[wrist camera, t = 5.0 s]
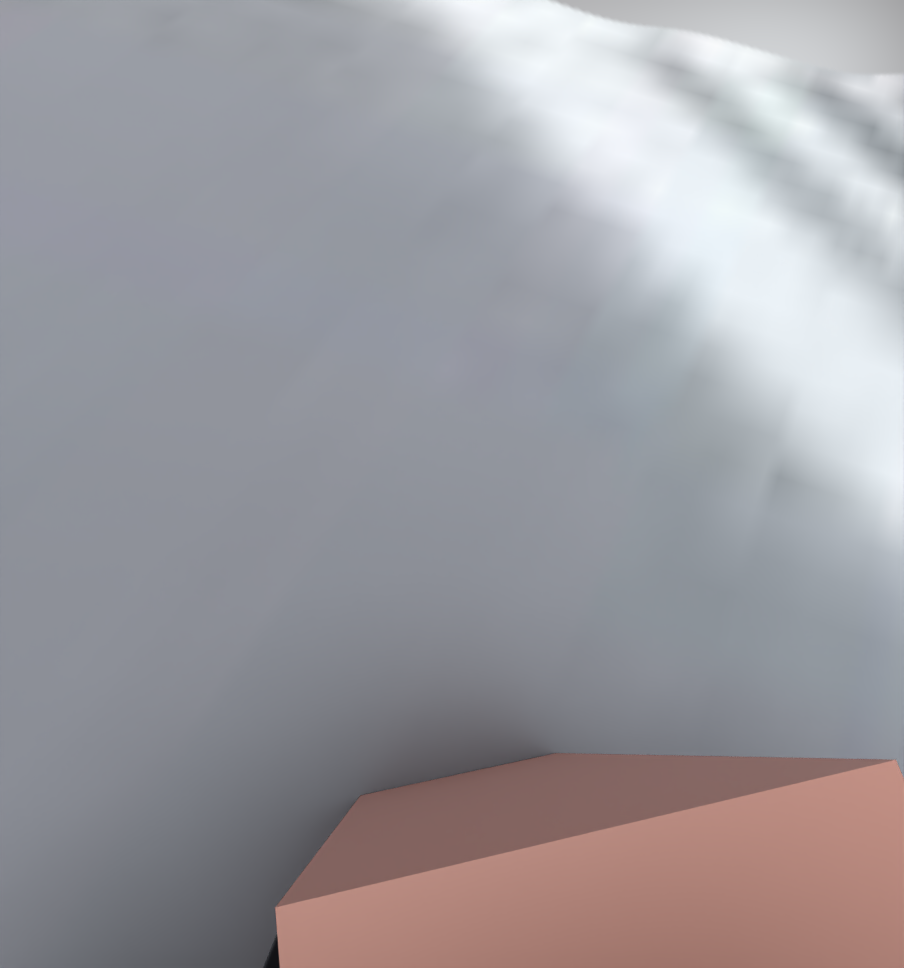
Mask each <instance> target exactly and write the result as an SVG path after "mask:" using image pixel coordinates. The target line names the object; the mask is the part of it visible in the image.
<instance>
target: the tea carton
mask: <svg viewBox="0 0 904 968" xmlns="http://www.w3.org/2000/svg"><path fill="white" fill-rule="evenodd" d="M275 910H276V924H277V937H278V950H279V963H280V968H904V778H903V776H902V773H901V771H900V768H899V766H898V764H897V761H896V760H883V759H832V758H780V757H728V756H676V755H624V754H572V753H554V754H550V755H545V756H540V757H536V758H531V759H527V760H522V761H517V762H513V763H508V764H504V765H499V766H494V767H490V768H485V769H480V770H476V771H471V772H467V773H462V774H457V775H453V776H448V777H444V778H439V779H434V780H430V781H425V782H420V783H416V784H411V785H407V786H402V787H397V788H393V789H388V790H384V791H379V792H374V793H370V794H365V795H361V796H360V797H359V798H358V799H357V801H356V802H355V803H354V805H353V806H352V807H351V809H350V810H349V811H348V813H347V814H346V815H345V817H344V818H343V819H342V820H341V822H340V823H339V824H338V826H337V827H336V828H335V830H334V831H333V832H332V834H331V835H330V836H329V838H328V839H327V840H326V842H325V843H324V844H323V845H322V847H321V848H320V849H319V851H318V852H317V853H316V855H315V856H314V857H313V859H312V860H311V861H310V863H309V864H308V865H307V866H306V868H305V869H304V870H303V872H302V873H301V874H300V876H299V877H298V878H297V880H296V881H295V882H294V884H293V885H292V886H291V887H290V889H289V890H288V891H287V893H286V894H285V895H284V897H283V898H282V899H281V901H280V902H279V903H278V905H277V906H276V907H275Z"/></svg>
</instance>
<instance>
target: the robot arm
mask: <svg viewBox="0 0 904 968" xmlns="http://www.w3.org/2000/svg"><path fill="white" fill-rule="evenodd" d="M263 968H280V963H279V950H278V937H277V935H276V938H275V940H274V943H273V945H272V947H271V950H270V952H269V955H268V957H267V960H266V962H265V965H264V967H263Z"/></svg>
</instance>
